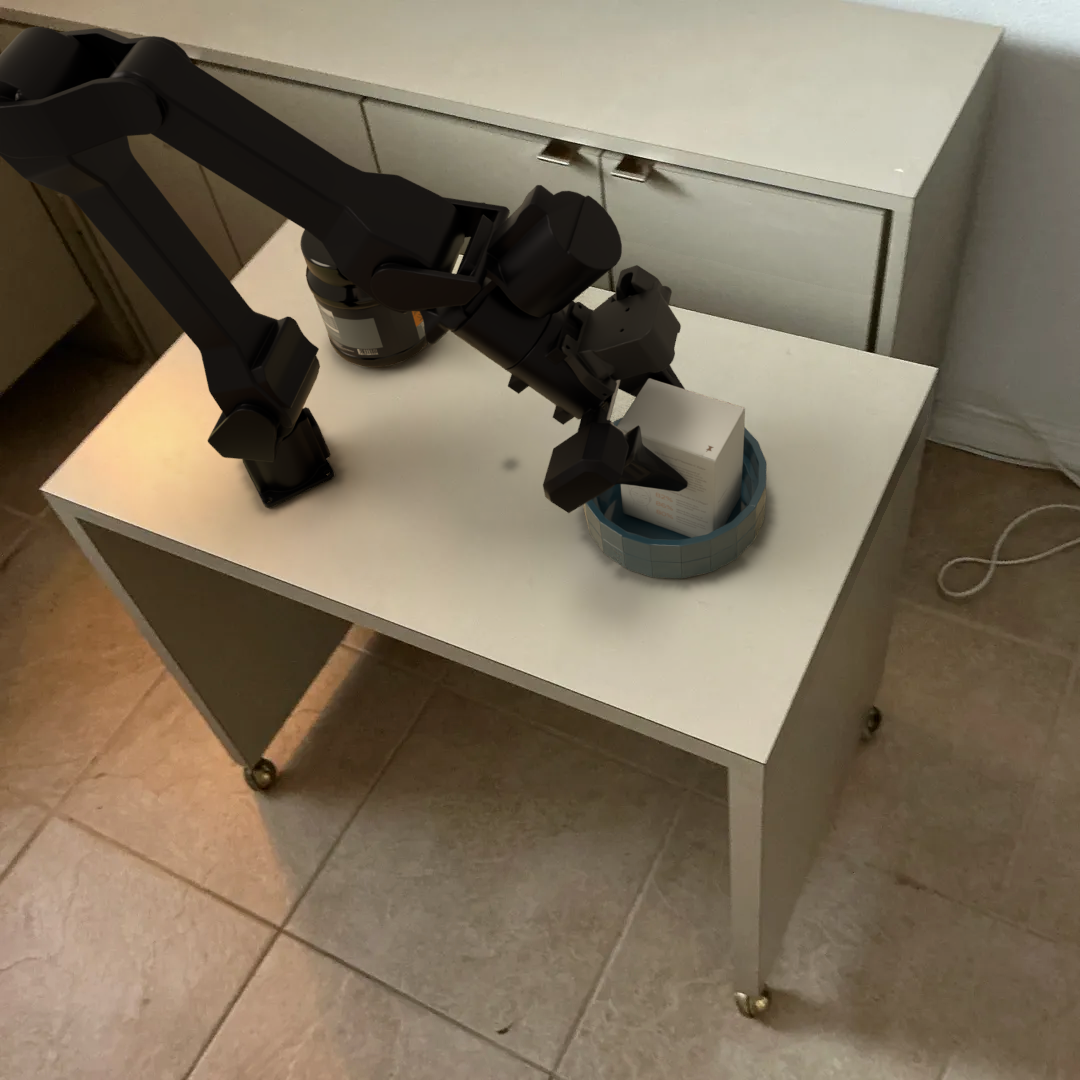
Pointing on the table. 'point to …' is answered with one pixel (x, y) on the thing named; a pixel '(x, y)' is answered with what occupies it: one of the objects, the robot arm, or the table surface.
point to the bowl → (672, 551)
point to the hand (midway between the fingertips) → (690, 452)
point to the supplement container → (358, 315)
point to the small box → (687, 457)
